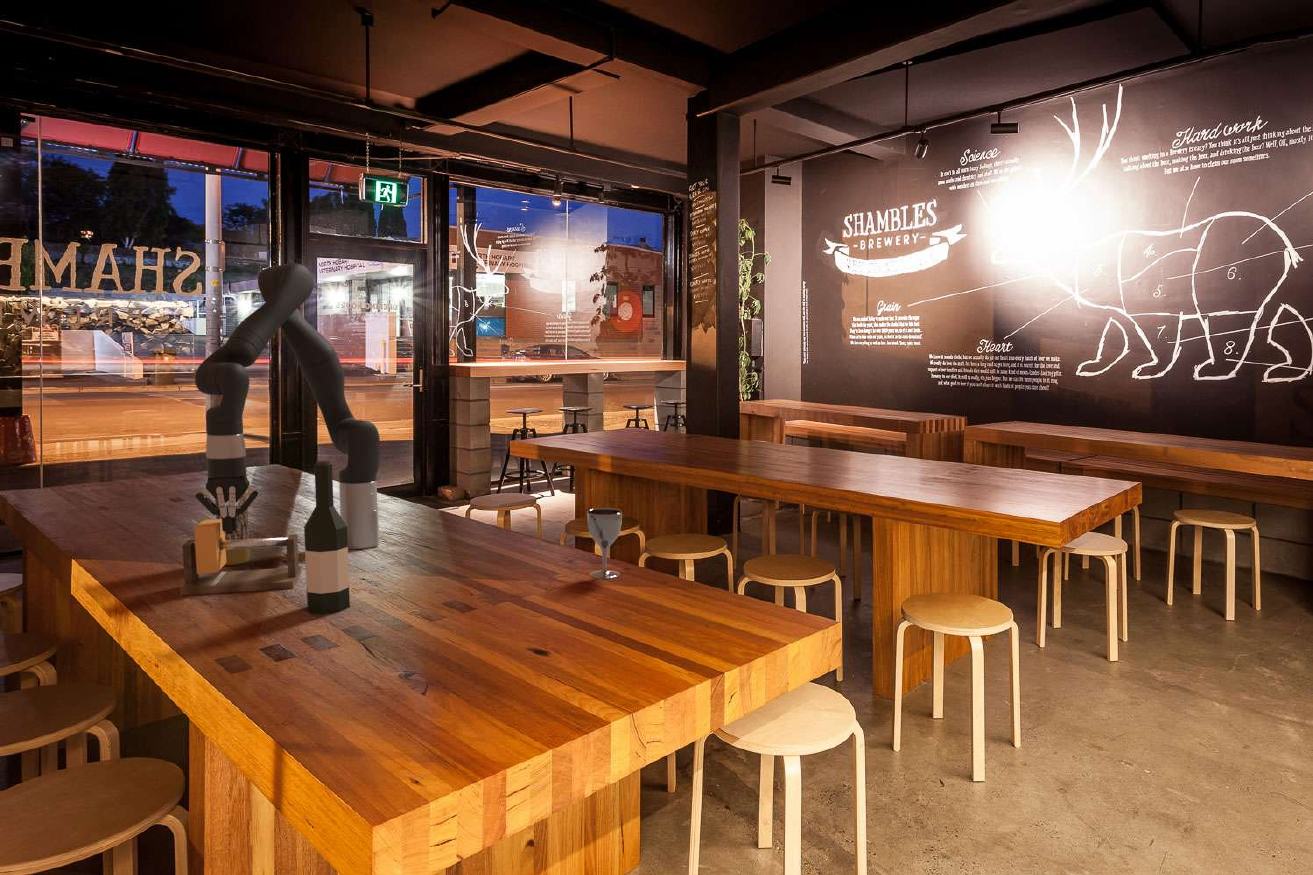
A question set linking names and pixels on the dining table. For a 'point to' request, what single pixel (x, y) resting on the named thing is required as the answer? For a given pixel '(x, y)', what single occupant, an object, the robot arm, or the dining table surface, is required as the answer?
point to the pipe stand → (241, 579)
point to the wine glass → (604, 535)
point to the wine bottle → (326, 549)
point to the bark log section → (238, 536)
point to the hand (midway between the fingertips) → (230, 533)
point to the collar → (209, 546)
